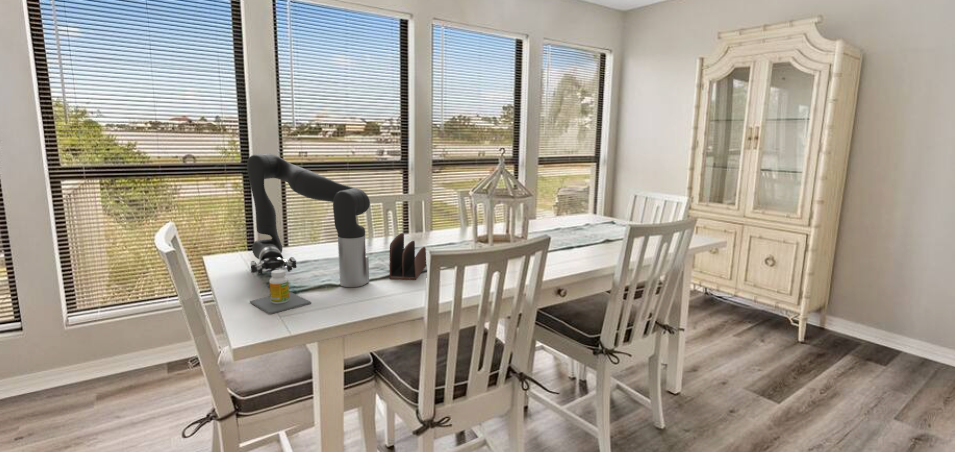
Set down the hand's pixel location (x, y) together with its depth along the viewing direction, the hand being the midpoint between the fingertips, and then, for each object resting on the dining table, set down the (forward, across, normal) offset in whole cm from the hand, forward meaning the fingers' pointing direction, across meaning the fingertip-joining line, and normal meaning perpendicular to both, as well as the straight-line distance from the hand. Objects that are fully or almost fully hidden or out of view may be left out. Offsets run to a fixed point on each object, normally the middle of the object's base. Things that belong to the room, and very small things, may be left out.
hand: (275, 270), depth 165 cm
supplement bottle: (+11, 0, +7) cm, 13 cm away
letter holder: (-5, +48, +8) cm, 48 cm away
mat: (+11, 0, +8) cm, 13 cm away
